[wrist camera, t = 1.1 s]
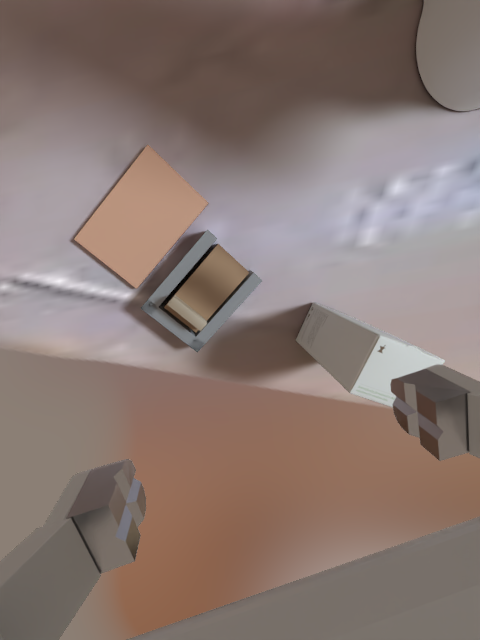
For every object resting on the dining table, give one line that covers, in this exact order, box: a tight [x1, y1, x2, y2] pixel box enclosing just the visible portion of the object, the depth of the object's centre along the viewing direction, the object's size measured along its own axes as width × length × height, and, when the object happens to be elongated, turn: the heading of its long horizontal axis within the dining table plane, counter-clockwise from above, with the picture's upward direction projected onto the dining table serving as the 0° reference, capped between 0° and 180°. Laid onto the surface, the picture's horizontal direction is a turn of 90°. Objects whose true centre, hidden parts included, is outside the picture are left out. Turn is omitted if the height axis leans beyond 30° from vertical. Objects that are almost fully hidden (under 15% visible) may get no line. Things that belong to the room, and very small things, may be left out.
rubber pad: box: [74, 145, 208, 289], centre depth 34 cm, size 14×9×1 cm, turn 138°
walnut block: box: [164, 244, 249, 332], centre depth 35 cm, size 10×5×6 cm, turn 138°
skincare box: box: [296, 303, 444, 408], centre depth 34 cm, size 8×7×16 cm
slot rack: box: [141, 230, 262, 352], centre depth 36 cm, size 12×9×3 cm
